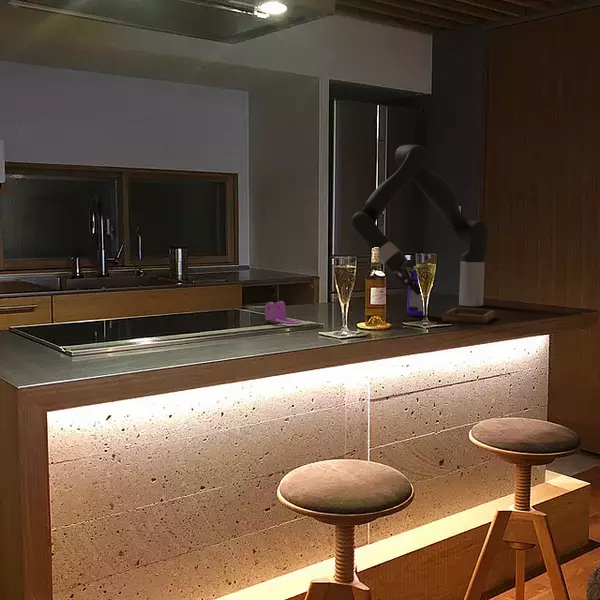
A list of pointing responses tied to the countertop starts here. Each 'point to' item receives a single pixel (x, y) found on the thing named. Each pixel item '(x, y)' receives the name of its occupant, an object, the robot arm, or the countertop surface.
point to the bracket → (278, 313)
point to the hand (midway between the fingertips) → (422, 292)
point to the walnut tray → (468, 315)
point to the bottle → (414, 299)
